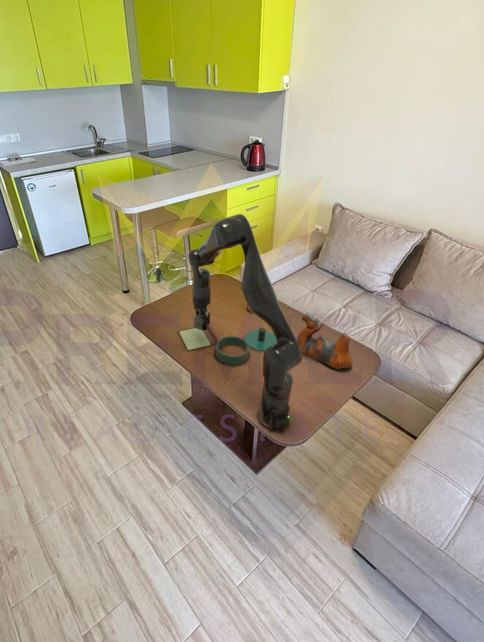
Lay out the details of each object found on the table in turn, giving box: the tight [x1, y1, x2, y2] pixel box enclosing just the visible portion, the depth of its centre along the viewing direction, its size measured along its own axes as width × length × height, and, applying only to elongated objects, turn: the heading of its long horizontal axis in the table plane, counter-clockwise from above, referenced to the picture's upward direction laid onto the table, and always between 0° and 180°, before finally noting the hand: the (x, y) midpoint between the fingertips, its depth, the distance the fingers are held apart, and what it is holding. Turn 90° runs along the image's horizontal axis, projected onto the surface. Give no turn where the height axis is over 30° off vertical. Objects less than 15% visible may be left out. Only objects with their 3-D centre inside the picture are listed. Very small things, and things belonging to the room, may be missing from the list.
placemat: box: [178, 327, 212, 351], centre depth 168 cm, size 14×14×1 cm
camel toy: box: [296, 312, 353, 370], centre depth 154 cm, size 25×13×17 cm, turn 37°
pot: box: [215, 335, 250, 366], centre depth 157 cm, size 14×14×5 cm
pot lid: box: [244, 327, 277, 352], centre depth 165 cm, size 15×15×7 cm
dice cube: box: [193, 314, 210, 332], centre depth 161 cm, size 5×5×5 cm
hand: (201, 324), depth 162 cm, fingers closed on dice cube, 7 cm apart
